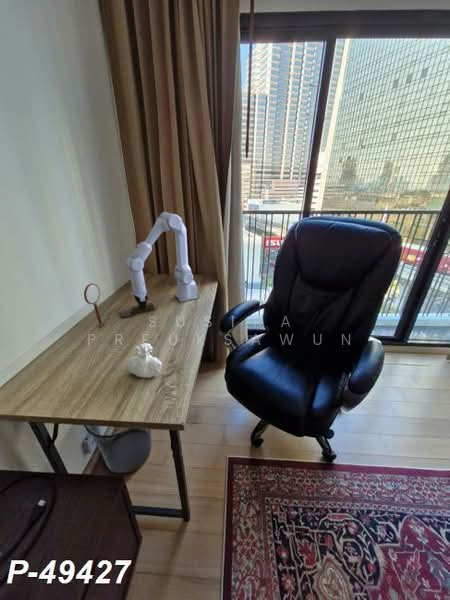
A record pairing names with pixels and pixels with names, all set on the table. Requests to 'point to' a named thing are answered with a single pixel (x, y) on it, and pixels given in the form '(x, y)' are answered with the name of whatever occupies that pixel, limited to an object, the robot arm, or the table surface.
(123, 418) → the table surface
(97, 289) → the magnifying glass
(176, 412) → the table surface
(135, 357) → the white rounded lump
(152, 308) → the spatula
